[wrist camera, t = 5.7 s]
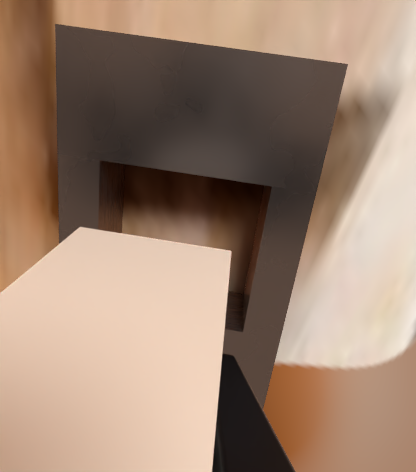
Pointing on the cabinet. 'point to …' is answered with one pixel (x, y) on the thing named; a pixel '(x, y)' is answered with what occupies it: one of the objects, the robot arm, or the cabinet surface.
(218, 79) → the square hole rail
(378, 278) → the cabinet surface
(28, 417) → the square peg
